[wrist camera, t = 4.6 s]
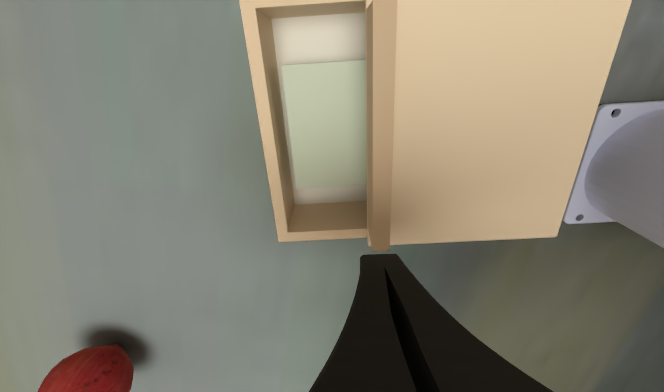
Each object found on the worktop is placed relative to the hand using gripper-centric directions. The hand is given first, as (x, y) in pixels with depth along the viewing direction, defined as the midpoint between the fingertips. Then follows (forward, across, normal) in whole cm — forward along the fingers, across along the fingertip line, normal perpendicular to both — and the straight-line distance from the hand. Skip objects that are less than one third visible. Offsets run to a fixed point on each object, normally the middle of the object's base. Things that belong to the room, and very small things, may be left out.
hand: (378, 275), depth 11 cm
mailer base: (+9, 0, -4) cm, 10 cm away
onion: (+10, +22, +15) cm, 28 cm away
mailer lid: (+5, -5, -4) cm, 8 cm away
